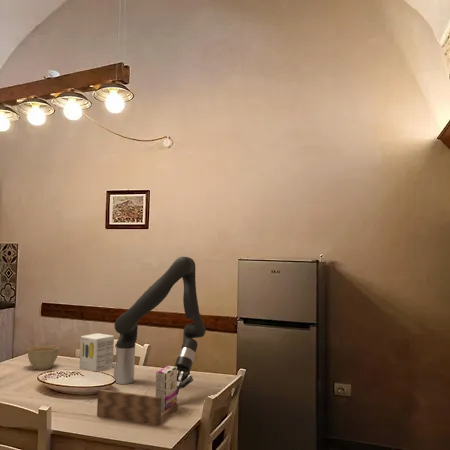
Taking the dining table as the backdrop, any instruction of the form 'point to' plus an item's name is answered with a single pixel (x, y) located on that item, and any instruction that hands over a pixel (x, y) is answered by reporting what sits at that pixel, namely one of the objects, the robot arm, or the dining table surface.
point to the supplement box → (96, 352)
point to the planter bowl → (42, 356)
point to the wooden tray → (132, 407)
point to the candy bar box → (167, 386)
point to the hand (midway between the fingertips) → (173, 395)
